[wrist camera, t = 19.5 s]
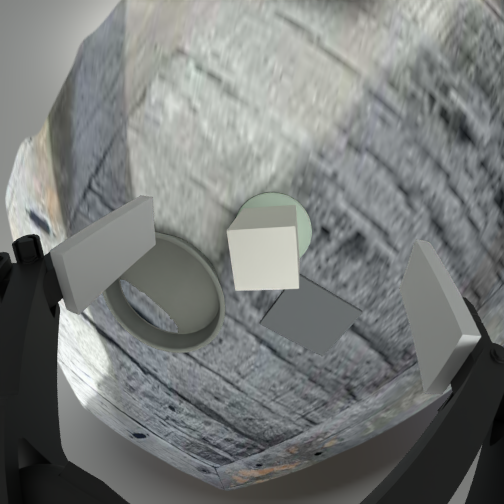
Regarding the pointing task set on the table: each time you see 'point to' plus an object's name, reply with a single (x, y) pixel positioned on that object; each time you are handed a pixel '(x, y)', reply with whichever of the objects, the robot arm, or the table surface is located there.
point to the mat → (311, 316)
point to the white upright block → (265, 248)
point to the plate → (282, 200)
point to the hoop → (172, 296)
